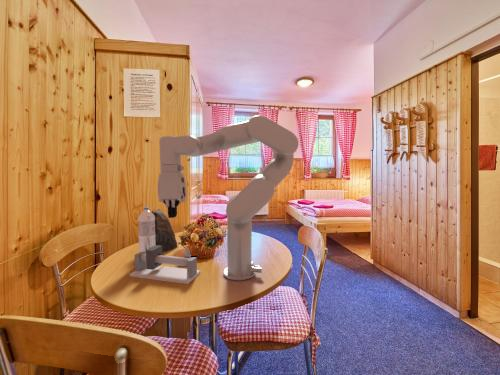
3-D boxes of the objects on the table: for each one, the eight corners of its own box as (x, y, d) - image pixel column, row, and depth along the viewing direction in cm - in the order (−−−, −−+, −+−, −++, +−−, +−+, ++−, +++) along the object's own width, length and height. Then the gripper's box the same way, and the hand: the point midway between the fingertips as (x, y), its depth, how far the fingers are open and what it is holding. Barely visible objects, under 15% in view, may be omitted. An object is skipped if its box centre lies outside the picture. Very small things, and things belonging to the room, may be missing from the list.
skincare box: (199, 253, 121) (198, 229, 120) (197, 257, 117) (197, 232, 116) (186, 254, 121) (186, 229, 120) (184, 257, 117) (184, 232, 116)
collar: (162, 263, 102) (162, 245, 101) (153, 269, 96) (152, 250, 95) (156, 262, 102) (155, 245, 102) (146, 268, 96) (145, 250, 96)
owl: (158, 253, 121) (156, 213, 120) (142, 249, 128) (141, 210, 127) (178, 247, 132) (177, 209, 130) (163, 242, 139) (162, 207, 137)
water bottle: (150, 267, 105) (148, 208, 103) (136, 265, 106) (134, 208, 104) (159, 261, 112) (157, 206, 110) (145, 260, 113) (144, 205, 111)
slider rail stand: (200, 272, 100) (200, 254, 99) (188, 284, 90) (187, 263, 89) (146, 266, 106) (146, 249, 105) (129, 276, 96) (129, 257, 96)
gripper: (193, 169, 96) (194, 216, 98) (159, 169, 100) (161, 214, 101) (183, 169, 89) (185, 220, 90) (147, 169, 92) (149, 218, 94)
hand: (172, 217), depth 96 cm, fingers closed
